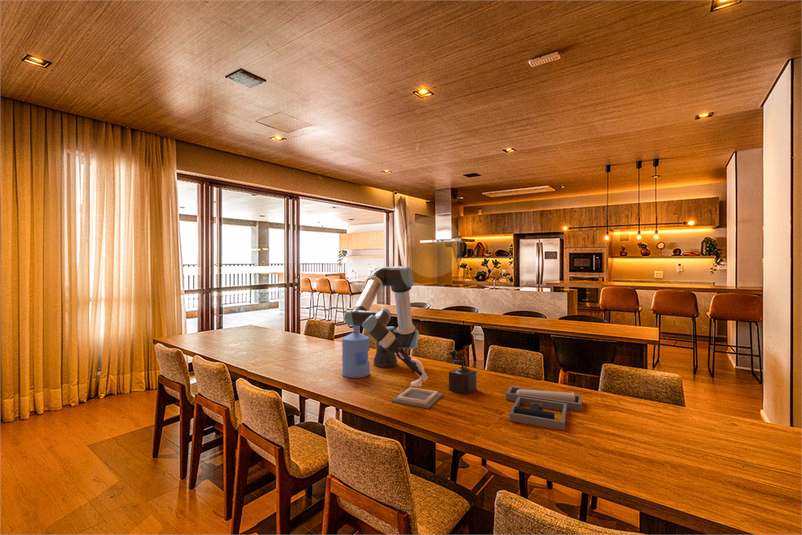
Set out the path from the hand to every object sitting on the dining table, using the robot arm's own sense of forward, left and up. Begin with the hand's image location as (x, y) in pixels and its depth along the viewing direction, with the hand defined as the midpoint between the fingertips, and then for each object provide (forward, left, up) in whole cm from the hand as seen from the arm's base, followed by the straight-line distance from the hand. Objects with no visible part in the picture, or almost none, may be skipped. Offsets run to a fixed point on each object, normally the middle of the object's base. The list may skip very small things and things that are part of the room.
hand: (425, 377), depth 175 cm
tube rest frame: (-21, +50, -10) cm, 55 cm away
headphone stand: (+2, -3, -4) cm, 5 cm away
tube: (-20, +50, -10) cm, 55 cm away
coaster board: (+1, -3, -10) cm, 11 cm away
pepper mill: (-21, +10, -10) cm, 25 cm away
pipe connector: (+1, +49, -10) cm, 50 cm away
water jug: (-19, -50, -10) cm, 54 cm away
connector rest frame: (-3, +50, -10) cm, 51 cm away
